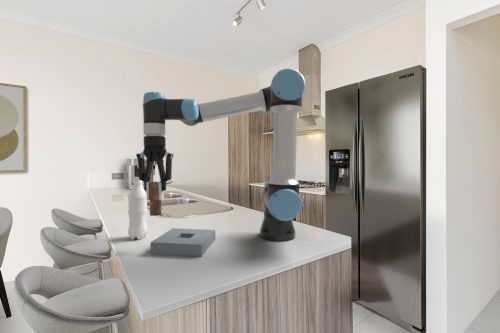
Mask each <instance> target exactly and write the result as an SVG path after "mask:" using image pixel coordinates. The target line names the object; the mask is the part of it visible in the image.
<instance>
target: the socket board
mask: <svg viewBox="0 0 500 333" xmlns="http://www.w3.org/2000/svg"><path fill="white" fill-rule="evenodd" d="M215 241H216V229H204V228H203V229H199V228H178V227H177V228H176V227H172V228H171V229H169V230H168V231H166V232H164V233H163V234H161V235H160V236H158V237H157V238H155V239H153V240H151V241H150V255H161V254H163V255H164V256H165V255H166V256H181V257H182V256H185V257H200V258H201V257H203V255H205V253H206V252H207V251H208V249H209V248H210V247H211V246H212V244H213V243H215ZM163 255H162V256H163Z"/></svg>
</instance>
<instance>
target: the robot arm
mask: <svg viewBox="0 0 500 333" xmlns="http://www.w3.org/2000/svg"><path fill="white" fill-rule="evenodd" d="M271 79H272V80H271V83H270V85H269V86H267V87H264V88H260V89H259V91H256V92H252V93H247V94H242V95H238V96H232V97H227V98H224V99H218V100H212V101H207V102H203V103H198V101H197V100H196V99H194V98H193V99H191V98H166V96H165V94H164V93H162V92H157V91H156V92H155V91H146V92H145V93H144V94H143V98H142V99H143V100H142V112H143V113H142V115H143V118H142V119H143V128H142V129H143V135H144V137H143V150H142V152H139V153H136V154H135V156H136V159H137V165H138V166H137V167H138V168H137V170H138V177H139V180H142V182H143V184H144V186H143V189H144V190H145V192H146V194H147V201H150V187H149V182H152V180H151V177H152V172H153V166H154V163H156V165H157V169H158V174H159V179H160V181H158V182H159V200H161V201H163V200H165V191H166V190H167V182H169V181H171V180H172V166H173V164H172V162H173V158H174V153H171V152H168V151H167V148H166V144H167V143H166V140H167V139H166V137H165V136H166V120H167V121H180V122H182V123H183V124H184V125H187V126H189V127H194V126H196V125H198V124H201V123H204V122H211V121H215V120H216V121H217V120H221V119H225V118H229V117H235V116H239V115H246V114H250V113H255V112H260V111H262V112H263V113H268V112H272V113H273V137H272V141H273V142H272V170H271V171H272V173H271V175H272V176H271V178H270V180H269V181H267V182H265V183H264V187H263V192H264V194H263V195H264V199H263V208H264V209H263V210H264V211H263V220H262V223H261V226H260V229H259V236H260V237H261V238H263V239H265V240H269V241H275V242H276V241H279V242H283V241H285V242H286V241H290V240H293V239H295V238H296V229H295V225H294V222H293V220H294V219H296V218H297V217H298V216H299V215H300V213H301V211H302V207H303V205H302V204H303V203H302V199H301V196H300V182H299V181H298V179H296V178H297V177H296V172H297V171H296V170H297V169H296V168H297V136H298V135H297V134H298V133H297V132H298V114H299V113H300V111H302V108H303V96H304V95H303V94H304V93H305V91H306V90H305V89H306V80H305V78H304V76H303V74H302V73H301V72H300V71H299V70H297V69H294V68H287V67H286V68H283V69H281V70H279V71H278V72H276V73H275V74H274V76H273V77H272V78H271ZM164 157H165V162H164ZM145 158H146V161H145ZM164 163H165V165H164Z"/></svg>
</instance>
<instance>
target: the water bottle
mask: <svg viewBox="0 0 500 333" xmlns="http://www.w3.org/2000/svg"><path fill="white" fill-rule="evenodd" d="M132 184H133V186H132V188H131V191H130V192H129V194H128V196H127V200H128V202H127V203H128V210H127V214H128V218H129V220H128V221H129V223H128V224H129V225H128V229H127V230H128V231H127V232H128V236H129V238H130V240H131V241H132V240H135V239H136V238H137V240H142V239H143V238H146V237H147V234H148V225H147V215H148V200H147V191H145V189H144V186H143V181H142V180H139V176H135V177H133V182H132Z"/></svg>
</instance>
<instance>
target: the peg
mask: <svg viewBox="0 0 500 333" xmlns="http://www.w3.org/2000/svg"><path fill="white" fill-rule="evenodd" d="M159 182H160V181H149V187H150V200H149V216H151V217H157V216H161V215H162V200H159Z"/></svg>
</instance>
